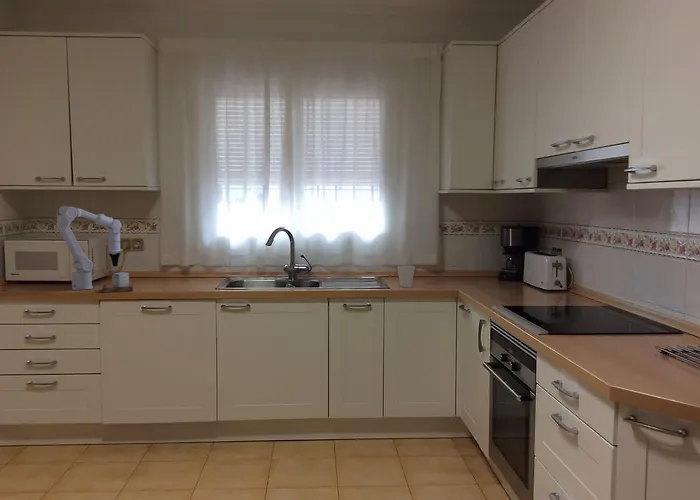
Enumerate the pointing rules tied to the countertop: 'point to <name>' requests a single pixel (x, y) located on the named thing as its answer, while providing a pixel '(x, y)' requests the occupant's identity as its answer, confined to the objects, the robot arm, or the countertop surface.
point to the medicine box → (120, 279)
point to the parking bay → (117, 289)
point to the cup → (406, 275)
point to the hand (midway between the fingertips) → (115, 266)
